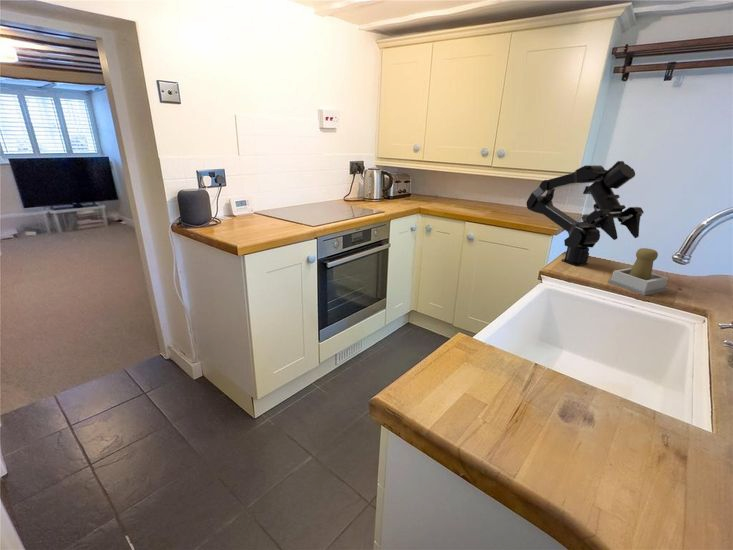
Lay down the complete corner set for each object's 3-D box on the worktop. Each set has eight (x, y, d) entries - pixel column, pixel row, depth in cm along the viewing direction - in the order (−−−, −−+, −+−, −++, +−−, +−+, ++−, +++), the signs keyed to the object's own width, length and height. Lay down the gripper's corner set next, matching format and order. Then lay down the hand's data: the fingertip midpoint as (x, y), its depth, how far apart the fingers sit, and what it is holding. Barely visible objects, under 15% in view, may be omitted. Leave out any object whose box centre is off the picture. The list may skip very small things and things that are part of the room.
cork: (652, 288, 106) (664, 253, 102) (628, 284, 109) (639, 250, 105) (646, 281, 112) (657, 247, 108) (623, 278, 114) (633, 245, 110)
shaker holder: (607, 282, 113) (611, 270, 112) (630, 277, 117) (633, 266, 116) (644, 295, 104) (648, 282, 102) (666, 290, 108) (671, 278, 106)
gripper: (604, 210, 127) (625, 248, 122) (564, 212, 122) (584, 252, 116) (632, 191, 118) (656, 231, 112) (590, 192, 112) (613, 235, 106)
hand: (626, 238), depth 112 cm, fingers open, 9 cm apart
